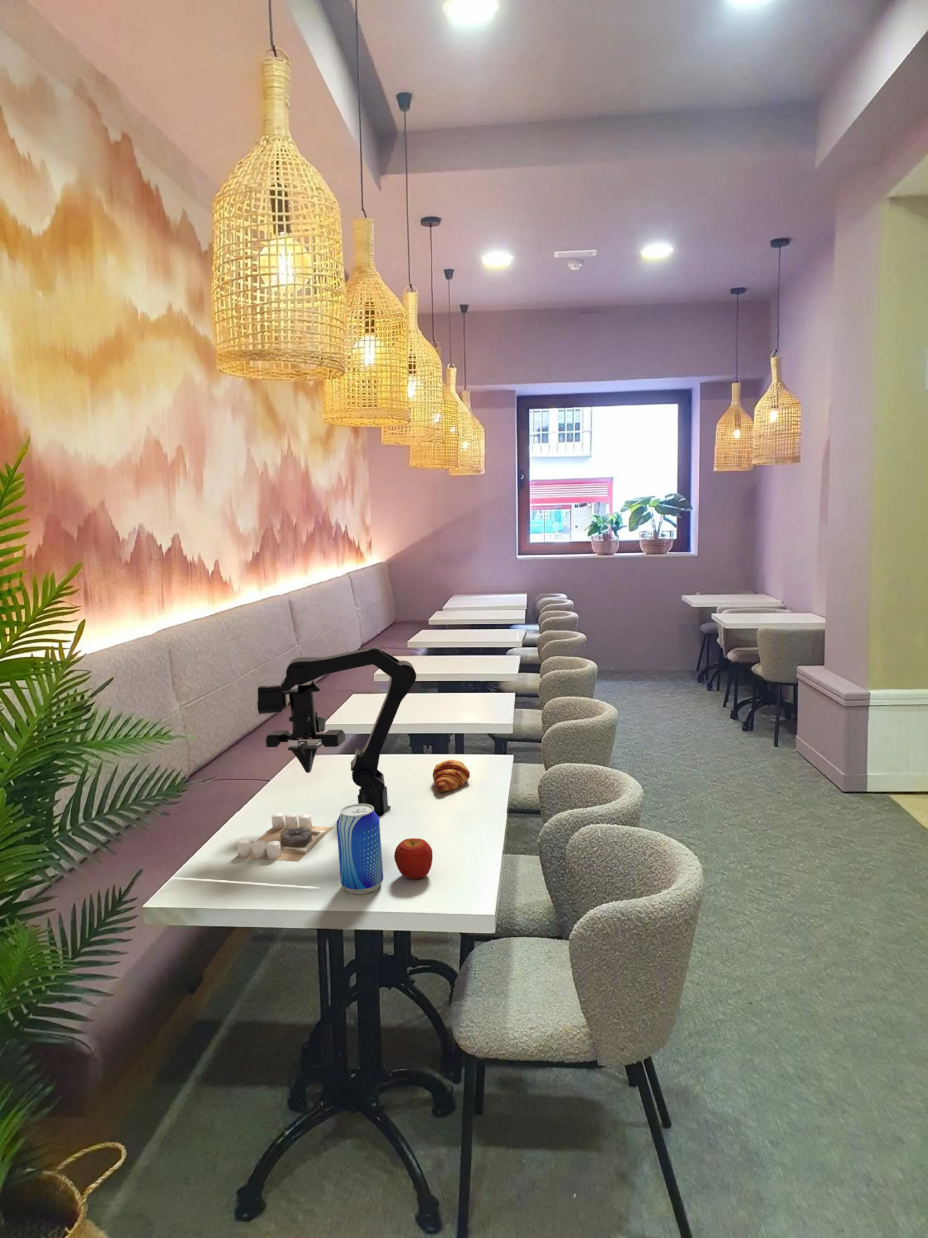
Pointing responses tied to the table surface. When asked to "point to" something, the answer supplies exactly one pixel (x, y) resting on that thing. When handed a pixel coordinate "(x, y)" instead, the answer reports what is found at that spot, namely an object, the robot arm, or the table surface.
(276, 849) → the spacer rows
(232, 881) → the table surface
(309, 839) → the nut
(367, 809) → the beer can
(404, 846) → the apple
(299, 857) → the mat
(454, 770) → the croissant
